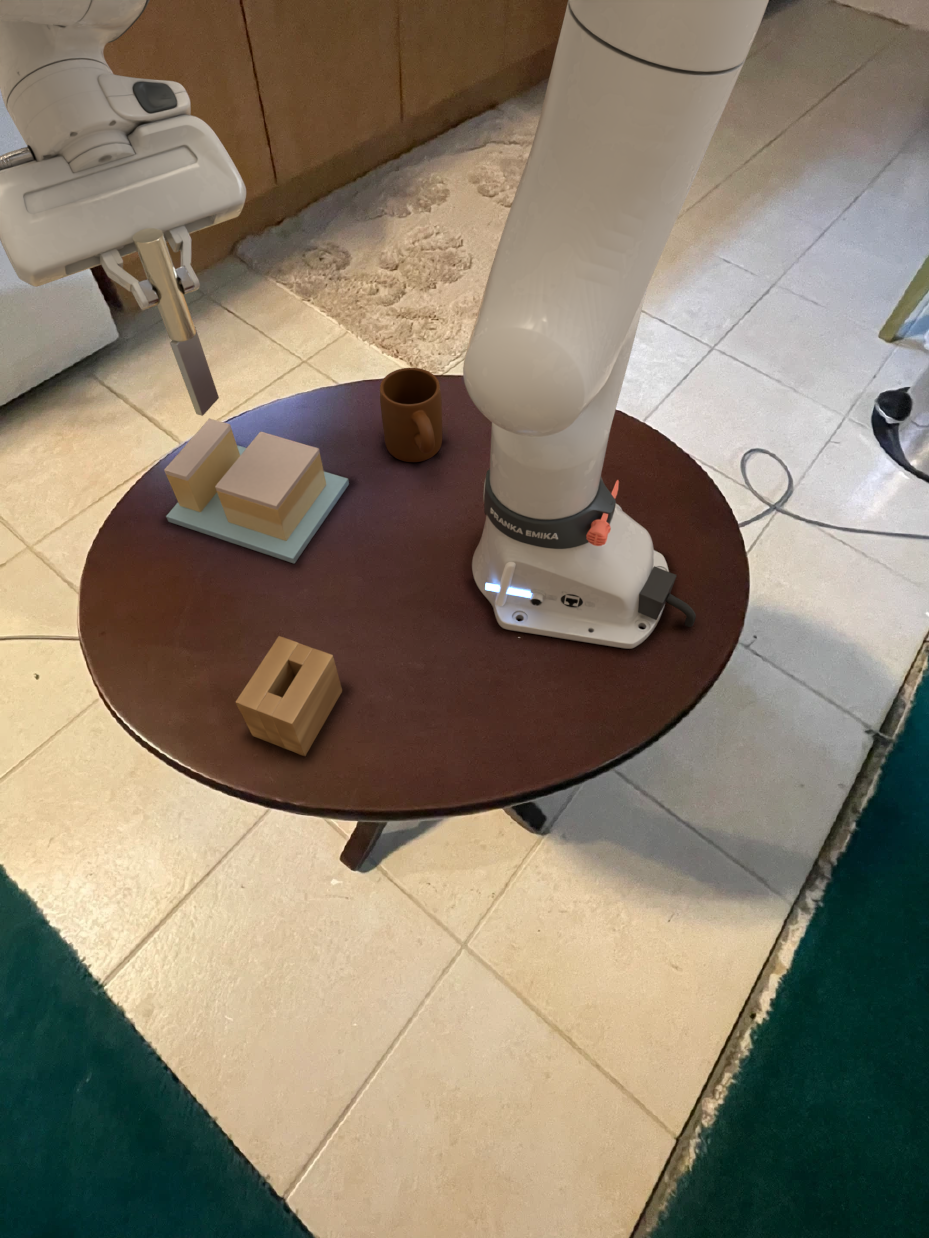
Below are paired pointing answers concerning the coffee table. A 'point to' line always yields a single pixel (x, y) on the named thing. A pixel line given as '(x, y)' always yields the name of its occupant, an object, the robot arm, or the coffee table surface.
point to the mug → (411, 414)
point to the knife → (176, 318)
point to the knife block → (290, 695)
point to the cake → (268, 499)
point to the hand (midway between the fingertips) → (171, 297)
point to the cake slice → (202, 464)
